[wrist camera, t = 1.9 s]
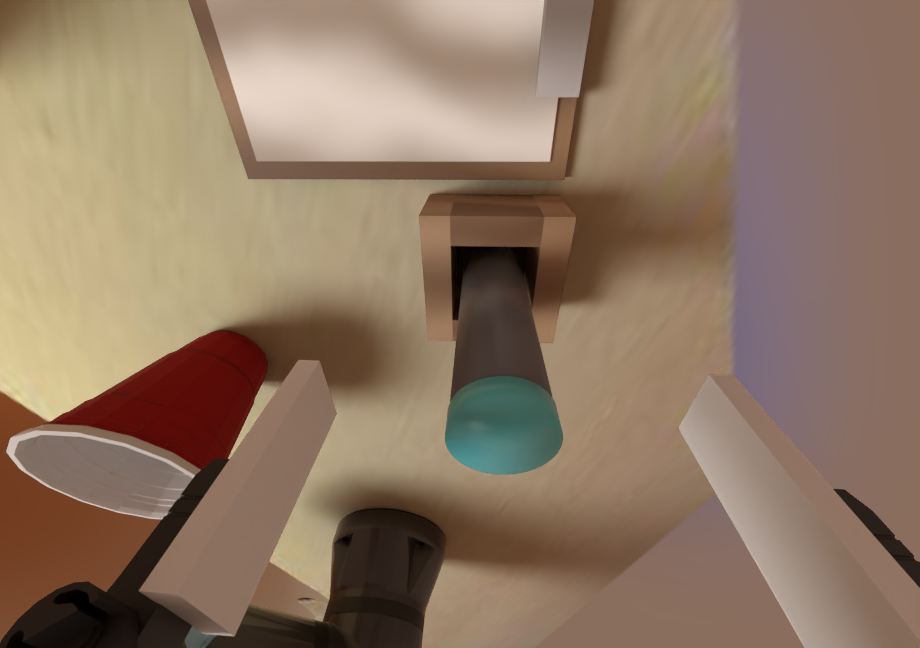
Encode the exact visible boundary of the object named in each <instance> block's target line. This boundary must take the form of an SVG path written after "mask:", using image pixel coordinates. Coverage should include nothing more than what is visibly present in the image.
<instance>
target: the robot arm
mask: <svg viewBox="0 0 920 648" xmlns="http://www.w3.org/2000/svg"><path fill="white" fill-rule="evenodd" d="M336 414H337V413H336V410H335V407H334V403H333V400H332V397H331V394H330V391H329V388H328V385H327V382H326V379H325V376H324V373H323V369H322V366H321V363H320V361H316V360H298V361H297V363H296V364H295V365H294V367H293V368H292V370H291V371H290V373H289V374H288V376H287V377H286V378H285V380H284V381H283V383H282V384H281V386H280V387H279V389H278V390H277V391H276V393H275V394H274V396H273V397H272V399H271V400H270V402H269V403H268V404H267V406H266V407H265V409H264V410H263V412H262V413H261V415H260V416H259V418H258V419H257V420H256V422H255V423H254V425H253V426H252V428H251V429H250V431H249V432H248V433H247V435H246V436H245V438H244V439H243V441H242V442H241V444H240V445H239V446H238V448H237V449H236V451H235V452H234V454H233V455H232V457H231V458H230V459H222V458H215V459H214V460H213V461H211V462H210V463H209V464H208V465H207V466H205V467H204V468H203V469H202V470H201V471H200V472H198V473H197V474H196V475H195V476H194V478H193V479H192V480H191V482H190V483H189V484H188V486H187V487H186V488H185V490H184V491H183V492H182V494H181V497H180V498H179V499H177V500H176V502H175V503H174V504H173V506H172V507H171V508H170V509H169V511H168V514H167V516H164V517H163V519H162V520H161V521H160V523H159V524H158V525H157V527H156V528H155V530H154V531H153V532H152V533H151V535H150V536H149V537H148V539H147V540H146V541H145V543H144V544H143V546H142V547H141V548H140V550H139V551H138V552H137V553H136V555H135V556H134V557H133V559H132V560H131V561H130V563H129V564H128V565H127V567H126V568H125V569H124V571H123V572H122V574H121V575H120V576H119V577H118V579H117V580H116V581H115V583H114V584H113V585H112V586H111V587H110V588H109V589H108V591H107V592H105V591H103V590H101V589H100V588H98V587H96V586H95V585H93V584H91V583H90V582H75V583H72V584H69V585H67V586H64V587H62V588H60V589H57V590H55V591H54V592H52V593H50V594H49V595H47V596H46V597H44V598H43V599H41V600H40V601H38V602H37V603H36V604H34V605H33V606H32V607H31V608H30V609H29V610H28V611H27V612H26V613H24V614H23V615H22V616H21V617H20V618H19V619H18V620H17V621H16V622H15V624H14V625H13V626H12V627H11V629H10V630H9V631H8V632H7V634H6V635H5V636H4V637H3V639H2V641H1V643H0V648H421V647H422V637H423V627H424V618H425V611H426V607H427V604H428V602H429V599H430V596H431V593H432V591H433V588H434V585H435V583H436V580H437V577H438V574H439V572H440V569H441V566H442V563H443V560H444V553H445V536H444V534H443V533H442V531H441V530H440V529H439V528H438V527H437V526H435V525H434V524H433V523H431V522H429V521H427V520H426V519H423V518H421V517H419V516H416V515H413V514H409V513H405V512H401V511H395V510H383V509H375V510H364V511H359V512H356V513H353V514H350V515H348V516H346V517H345V518H343V519H342V520H341V521H340V523H339V525H338V528H337V531H336V534H335V537H334V540H333V544H332V565H331V588H330V599H329V602H328V606H327V609H326V613H325V616H324V619H323V622H320V621H316V620H313V619H309V618H305V617H300V616H297V615H292V614H288V613H284V612H281V611H277V610H273V609H269V608H265V607H260V606H256V605H252V604H250V601H251V599H252V597H253V595H254V593H255V591H256V589H257V586H258V584H259V582H260V579H261V578H262V575H263V573H264V571H265V569H266V567H267V564H268V562H269V560H270V558H271V556H272V554H273V551H274V549H275V547H276V545H277V543H278V541H279V538H280V536H281V534H282V532H283V530H284V527H285V525H286V523H287V521H288V519H289V517H290V514H291V512H292V510H293V508H294V506H295V503H296V501H297V499H298V497H299V495H300V492H301V490H302V488H303V486H304V484H305V482H306V479H307V477H308V475H309V473H310V471H311V468H312V466H313V464H314V462H315V460H316V458H317V455H318V453H319V451H320V449H321V447H322V444H323V442H324V440H325V438H326V436H327V434H328V431H329V429H330V427H331V425H332V423H333V420H334V418H335V416H336ZM679 430H680V432H681V434H682V435H683V437H684V439H685V440H686V442H687V444H688V446H689V447H690V449H691V451H692V453H693V454H694V456H695V458H696V460H697V461H698V463H699V465H700V467H701V468H702V470H703V472H704V474H705V475H706V477H707V479H708V480H709V482H710V484H711V486H712V487H713V489H714V491H715V493H716V494H717V496H718V498H719V499H720V501H721V503H722V505H723V506H724V508H725V510H726V512H727V513H728V515H729V517H730V519H731V520H732V522H733V524H734V526H735V527H736V529H737V531H738V532H739V534H740V536H741V538H742V539H743V541H744V543H745V545H746V547H747V548H748V550H749V552H750V553H751V555H752V557H753V559H754V560H755V562H756V564H757V566H758V567H759V569H760V571H761V573H762V574H763V576H764V578H765V580H766V581H767V583H768V585H769V587H770V588H771V590H772V592H773V593H774V595H775V597H776V599H777V600H778V602H779V604H780V606H781V607H782V609H783V611H784V613H785V614H786V616H787V618H788V620H789V621H790V623H791V624H792V626H793V628H794V630H795V632H796V633H797V635H798V637H799V639H800V640H801V642H802V644H803V646H804V647H805V648H920V562H918V561H916V560H915V559H914V555H913V554H912V553H911V552H910V551H909V550H908V549H907V548H906V547H905V546H904V545H903V544H902V542H901V541H900V540H896V539H895V537H894V536H895V535H894V534H893V533H892V532H891V531H890V530H889V528H887V526H886V525H885V524H884V523H883V522H882V521H881V520H880V519H879V518H878V516H876V514H875V513H874V512H873V511H872V510H871V509H869V508H868V507H867V506H865V505H864V504H863V503H861V502H860V501H859V500H857V499H856V498H855V497H853V496H852V495H851V494H849V493H848V492H847V491H846V490H842V489H832V487H831V486H830V485H829V484H828V483H827V482H826V481H825V480H824V478H823V477H822V476H821V475H820V474H819V473H818V471H817V470H816V469H815V468H814V467H813V466H812V464H810V462H809V461H808V460H807V459H806V458H805V457H804V455H803V454H802V453H801V452H800V451H799V450H798V449H797V447H796V446H795V445H794V444H793V443H792V442H791V441H790V439H789V438H788V437H787V436H786V435H785V434H784V433H783V432H782V430H781V429H780V428H779V427H778V426H777V425H776V423H775V422H774V421H773V420H772V419H771V418H770V417H769V415H768V414H767V413H766V412H765V411H764V410H763V409H762V407H761V406H760V405H759V404H758V403H757V402H756V401H755V399H753V397H752V396H751V395H750V394H749V393H748V391H747V390H746V389H745V388H744V387H743V386H742V385H741V384H740V382H739V381H738V380H737V379H736V378H735V377H734V375H719V374H709V375H708V377H707V378H706V380H705V382H704V384H703V385H702V387H701V389H700V391H699V393H698V394H697V396H696V398H695V400H694V401H693V403H692V405H691V407H690V408H689V410H688V412H687V414H686V416H685V417H684V419H683V421H682V423H681V424H680V426H679Z"/></svg>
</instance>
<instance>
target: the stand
mask: <svg viewBox="0 0 920 648" xmlns="http://www.w3.org/2000/svg"><path fill="white" fill-rule="evenodd" d="M576 218H577V217H576V216H575V214H574V213H573V212H572V211H571V209H570V208H569V207H568V206H567V204H566V203H565V202H564V201H563V199H562V198H561V197H560V195H429V197H428V199H427V201H426V203H425V205H424V207H423V209H422V211H421V213H420V215H419V224H420V237H421V250H422V264H423V277H424V290H425V304H426V317H427V331H428V340H440V341H456V339H457V329H458V319H459V309H460V299H461V289H462V286H457V270H456V246H494V247H527V255H526V264H525V273H524V280H525V284H526V289H527V293H528V297H529V301H530V305H531V310H532V314H533V318H534V322H535V326H536V331H537V335H538V339H539V343H553V341H554V335H555V330H556V325H557V319H558V314H559V309H560V303H561V298H562V293H563V287H564V282H565V277H566V271H567V266H568V261H569V255H570V250H571V245H572V239H573V234H574V229H575V223H576Z"/></svg>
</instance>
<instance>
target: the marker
mask: <svg viewBox="0 0 920 648" xmlns="http://www.w3.org/2000/svg"><path fill="white" fill-rule="evenodd" d="M562 441H563V433H562V429H561V425H560V420H559V416H558V412H557V408H556V404H555V402H554V400H553V398H552V394H551V390H550V385H549V381H548V377H547V373H546V369H545V364H544V360H543V356H542V352H541V347H540V343H539V339H538V335H537V331H536V326H535V322H534V318H533V314H532V310H531V305H530V301H529V297H528V293H527V289H526V284H525V280H524V276H523V272H522V268H521V263H520V260H519V258H518V256H517V255H516V254H515V253H514V252H513V251H512V250H511V249H510V248H508V247H494V246H480V247H478V248H477V249H475V250H474V251H472V252H471V253H470V255H469V256H468V257H467V259H466V261H465V264H464V269H463V279H462V289H461V299H460V309H459V319H458V329H457V339H456V349H455V358H454V368H453V378H452V388H451V398H450V404H449V407H448V413H447V423H446V432H445V442H446V445H447V448H448V450H449V452H450V453H451V454H452V455H453V457H454V458H456V459H457V460H458V461H459V462H461V463H462V464H464V465H465V466H467V467H469V468H472V469H474V470H477V471H481V472H485V473H490V474H505V475H507V474H517V473H523V472H527V471H530V470H533V469H536V468H538V467H540V466H542V465H544V464H546V463H547V462H549V461H550V460H551V459H552V458H553V457H554V456H555V455H556V454H557V453H558V451H559V449H560V448H561V445H562Z"/></svg>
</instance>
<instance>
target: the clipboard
mask: <svg viewBox="0 0 920 648" xmlns="http://www.w3.org/2000/svg"><path fill="white" fill-rule="evenodd" d="M188 1H189V4H190V7H191V10H192V13H193V16H194V19H195V22H196V25H197V28H198V31H199V34H200V37H201V40H202V43H203V46H204V49H205V52H206V55H207V58H208V61H209V64H210V67H211V70H212V73H213V76H214V78H215V81H216V84H217V87H218V90H219V93H220V96H221V99H222V102H223V105H224V108H225V111H226V114H227V117H228V120H229V123H230V126H231V129H232V132H233V135H234V138H235V141H236V144H237V147H238V150H239V153H240V156H241V159H242V162H243V165H244V168H245V170H246V173H247V176H248V179H432V180H564V178H565V171H566V165H567V159H568V152H569V146H570V139H571V133H572V127H573V120H574V114H575V108H576V101H577V97H579V93H580V86H581V80H582V74H583V68H584V61H585V55H586V49H587V42H588V36H589V30H590V24H591V17H592V11H593V5H594V0H188Z"/></svg>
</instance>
